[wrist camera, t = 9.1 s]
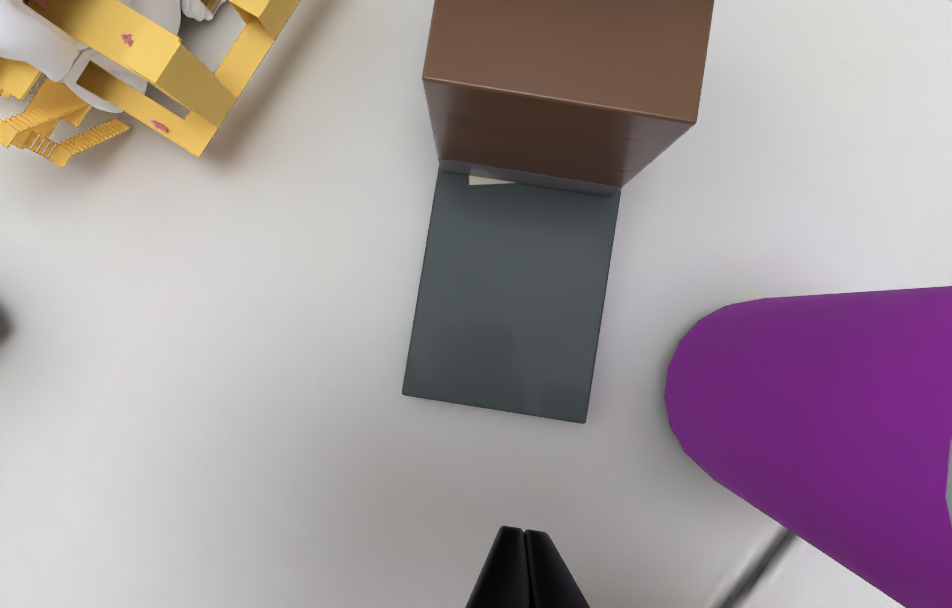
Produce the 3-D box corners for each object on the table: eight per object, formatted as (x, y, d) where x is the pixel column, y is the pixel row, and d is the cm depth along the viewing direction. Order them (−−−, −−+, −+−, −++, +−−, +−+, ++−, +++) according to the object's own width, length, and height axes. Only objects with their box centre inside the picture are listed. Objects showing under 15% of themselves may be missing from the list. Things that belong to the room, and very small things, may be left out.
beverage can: (863, 446, 20) (1437, 635, 8) (692, 509, 20) (1023, 796, 8) (798, 274, 20) (1267, 213, 8) (629, 335, 20) (860, 362, 8)
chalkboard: (580, 419, 20) (586, 424, 19) (404, 391, 20) (401, 395, 19) (657, -84, 21) (666, -105, 20) (487, -112, 21) (487, -134, 20)
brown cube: (610, 198, 20) (697, 124, 12) (440, 170, 19) (421, 79, 12) (639, 7, 20) (742, -182, 12) (471, -21, 20) (471, -227, 12)
